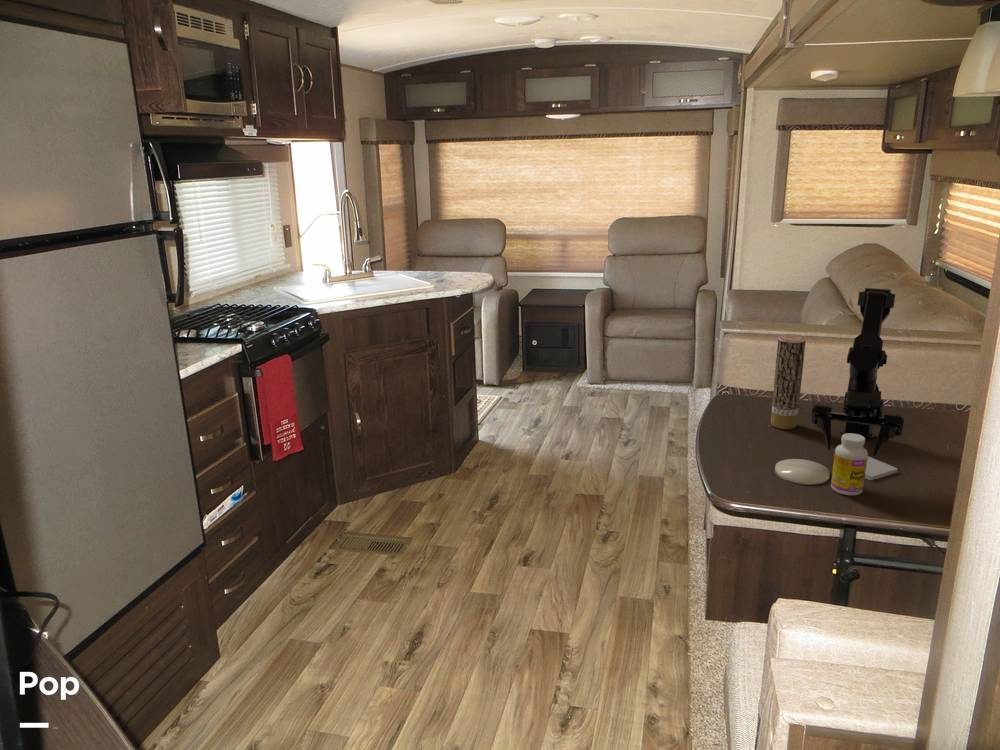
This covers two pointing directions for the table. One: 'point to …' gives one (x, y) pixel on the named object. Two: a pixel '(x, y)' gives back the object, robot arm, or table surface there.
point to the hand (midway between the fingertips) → (851, 453)
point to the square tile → (878, 469)
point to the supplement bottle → (849, 465)
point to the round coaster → (802, 471)
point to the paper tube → (787, 381)
